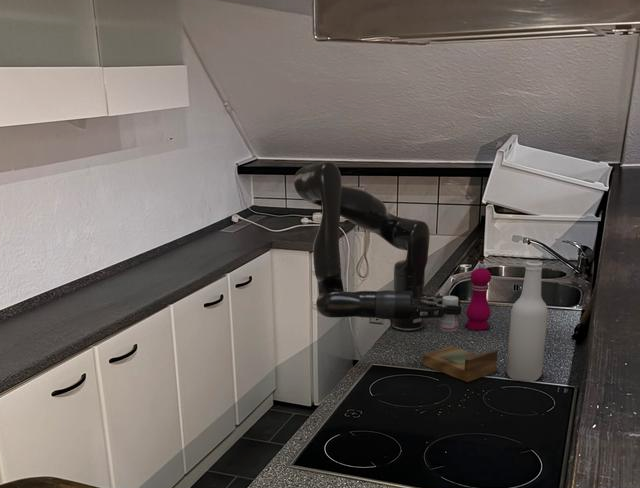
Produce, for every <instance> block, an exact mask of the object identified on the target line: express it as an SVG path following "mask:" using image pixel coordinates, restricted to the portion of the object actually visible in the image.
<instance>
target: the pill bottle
mask: <svg viewBox="0 0 640 488" xmlns="http://www.w3.org/2000/svg"><path fill="white" fill-rule="evenodd" d="M458 300H459V297H458V296H457V295H444V296H443V299H442V303H443V304H441V305H456V306H459V305H458ZM459 317H460V315H452V314H446V315H444V316H443V317H442V318H439V325H438V329H439V330H441V331H443V332H455V331H457V330H458V329H459Z"/></svg>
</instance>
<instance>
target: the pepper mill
mask: <svg viewBox="0 0 640 488" xmlns="http://www.w3.org/2000/svg"><path fill="white" fill-rule="evenodd" d="M491 280H492V273H491V272H490V271H489V270H488V269H487V268H485V264H484V263H479V265H478V268H476V269H473V271H472V272H471V273H470V281H471V282H472V284H471V290H472V298H471V300H470V303H469V304H468V306H467V308H466V313H465V316H466V317H467V322H466V327H467V329H469V330H474V331H485V330H487V329H488V328H489V321H488V320H489V319H490V317H491V307H490V305H489V302H488V298H487V294H488V290H490V288H489V287H490V285H489V283H490V282H491Z"/></svg>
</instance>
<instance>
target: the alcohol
mask: <svg viewBox="0 0 640 488" xmlns="http://www.w3.org/2000/svg"><path fill="white" fill-rule="evenodd" d="M543 265H544V264H543V262H542V261H540V260H527V261H526V262H525V267H524V268H525V269H524V270H525V272H524V278H523V284H522V290H521V294H520V297H519V298H518V299H517V300H516V301H515V302H513V304H512V308H511V311H510V320H509V321H510V323H509V333H508V334H509V335H508V343H507V344H508V347H507V356H506V366H505V367H506V368H505V369H506V370H505V372H506V374H507V376H508V377H509V378H510V379H513V380H515V381H520V382H534V381H537V380H539V379H540V378H541V377H542V376H543V375H542V374H543V365H544V356H545V348H546V347H545V346H546V338H547V337H546V336H547V329H548V328H547V327H548V318H549V309H548V305H547V304H546V302H545V301H544V300H543V297H542V277H543V276H542V271H543Z"/></svg>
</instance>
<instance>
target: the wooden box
mask: <svg viewBox="0 0 640 488" xmlns="http://www.w3.org/2000/svg"><path fill="white" fill-rule="evenodd" d="M498 353H499V351H498V350H496V349H492V350H489V351H485V352H483V353H480V354H479V353H478V354H476V353H473V352H471V351H468V350H465V349H462V348H459V347H456V346H453V345H448V346H446V347H443V348H439V349H436V350H432V351H430V352H426V353H423V354H422V366H424V367H426V368H427V367H428V368H430V369H432V370H435V371H437V372H440V373H443V374H445V375H447V376H449V377H453V378H456V379H458V380H461V381H463V382H465V383H470V382H472V381H474V380H477V379H481V378H484V377H486V376H489V375H492V374H495V373H497V364H498Z"/></svg>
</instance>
